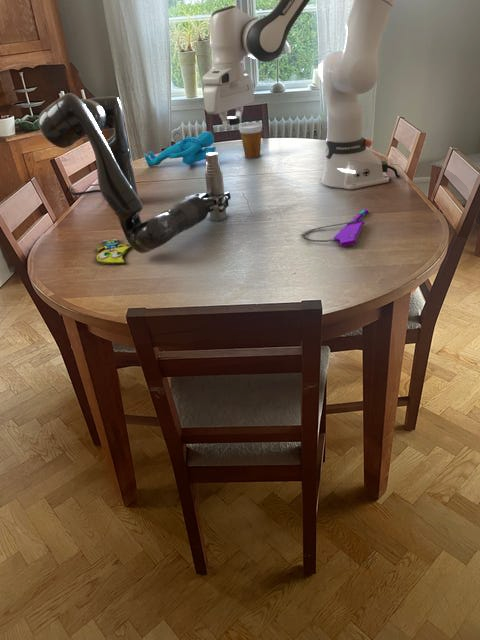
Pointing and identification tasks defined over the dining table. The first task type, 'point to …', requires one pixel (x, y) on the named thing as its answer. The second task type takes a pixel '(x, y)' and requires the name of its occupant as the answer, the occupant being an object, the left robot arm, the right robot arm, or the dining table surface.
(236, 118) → the cap
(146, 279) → the dining table surface
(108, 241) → the toy
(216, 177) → the bottle
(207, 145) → the toy
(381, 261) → the dining table surface
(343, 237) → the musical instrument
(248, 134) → the beer glass
